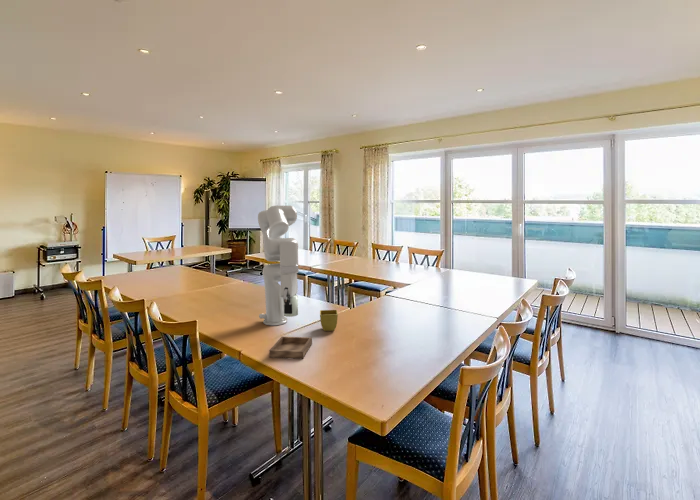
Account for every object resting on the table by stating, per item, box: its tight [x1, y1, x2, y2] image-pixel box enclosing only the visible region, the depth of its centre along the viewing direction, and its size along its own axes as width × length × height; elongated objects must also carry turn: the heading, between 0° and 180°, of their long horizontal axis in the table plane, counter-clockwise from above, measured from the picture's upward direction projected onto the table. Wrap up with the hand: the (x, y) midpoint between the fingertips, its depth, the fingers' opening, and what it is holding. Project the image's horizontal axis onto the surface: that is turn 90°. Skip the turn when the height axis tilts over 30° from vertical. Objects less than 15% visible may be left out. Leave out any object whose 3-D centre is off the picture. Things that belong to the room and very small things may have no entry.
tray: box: [268, 336, 313, 360], centre depth 151 cm, size 14×16×3 cm
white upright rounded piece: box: [283, 294, 299, 318], centre depth 149 cm, size 6×6×8 cm
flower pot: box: [319, 309, 339, 332], centre depth 177 cm, size 9×9×9 cm
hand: (290, 310), depth 149 cm, fingers closed on white upright rounded piece, 6 cm apart
